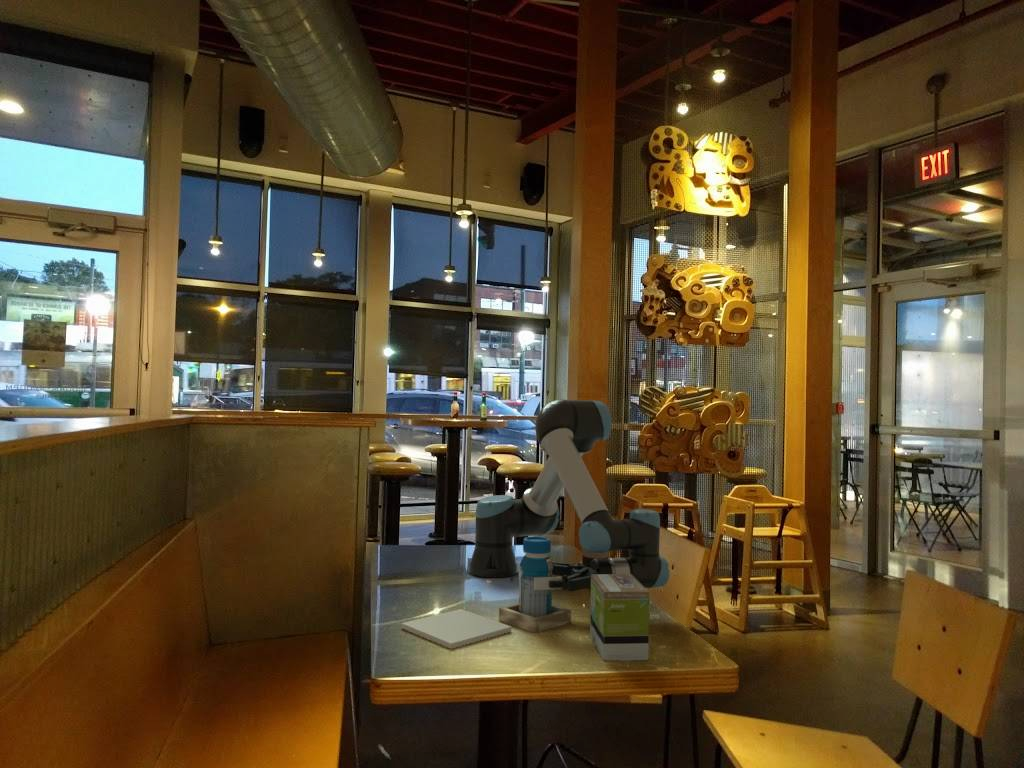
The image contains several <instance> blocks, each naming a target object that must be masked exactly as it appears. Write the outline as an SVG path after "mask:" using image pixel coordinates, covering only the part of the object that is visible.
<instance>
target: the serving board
mask: <svg viewBox="0 0 1024 768" xmlns="http://www.w3.org/2000/svg"><path fill="white" fill-rule="evenodd" d="M401 629H402V630H404V629H405V630H404V631H406V630H407V632H409V633H411V632H412V633H411V634H414V635H416V636H418V635H419V637H421V638H423V637H424V638H423V639H425V638H426V640H428V641H430V640H431V641H430V642H433V643H435V642H436V644H437V643H438V644H437V645H440V644H441V645H440V646H442V645H443V646H442V647H444V648H447V647H448V648H447V649H449V648H450V650H453V649H456V647H457V648H460V647H463V645H464V646H466V644H467V645H470V643H471V644H475V643H477V641H478V642H480V640H481V641H485V640H487V638H488V639H491V638H490V637H492V638H494V636H495V637H499V636H501V634H502V635H505V634H504V633H506V634H509V633H511V632H512V626H510V625H509V624H506V623H503V622H499V621H496V620H493V619H492V618H491V619H490V618H488V617H485V616H482V615H479V614H478V613H477V614H476V613H474V612H471V611H467V610H465V609H462V608H460V609H455V610H452V611H447V612H443V613H440V614H439V613H438V614H436V615H432V616H425V617H422V618H419V619H418V618H417V619H414V620H410V621H405V622H402V623H401ZM508 632H509V633H508ZM498 635H499V636H498ZM484 639H485V640H484ZM452 648H453V649H452Z"/></svg>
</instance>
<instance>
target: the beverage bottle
mask: <svg viewBox="0 0 1024 768" xmlns="http://www.w3.org/2000/svg"><path fill="white" fill-rule="evenodd" d="M522 542H523V544H522V551H523V553H525V554H524V556H523V557H522V559H521V561H520V569H521V572H520V574H519V573H518V582H519V583H518V587H519V588H518V589H519V590H518V591H519V592H518V595H519V596H518V603H519V612H520V613H523V614H526V615H529V616H532V617H535V618H537V617H540V616H544V615H548V614H551V613H552V604H553V603H552V602H553V589H550V590H534V578H539V577H554V575H552V570H553V564H552V562H553V561H552V560H551V557H550V556H549V554H550V553H551V550H552V549H551V548H552V546H551V545H552V543H551V539H550V538H548V537H545V536H525V537H524V538H523V541H522Z"/></svg>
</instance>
